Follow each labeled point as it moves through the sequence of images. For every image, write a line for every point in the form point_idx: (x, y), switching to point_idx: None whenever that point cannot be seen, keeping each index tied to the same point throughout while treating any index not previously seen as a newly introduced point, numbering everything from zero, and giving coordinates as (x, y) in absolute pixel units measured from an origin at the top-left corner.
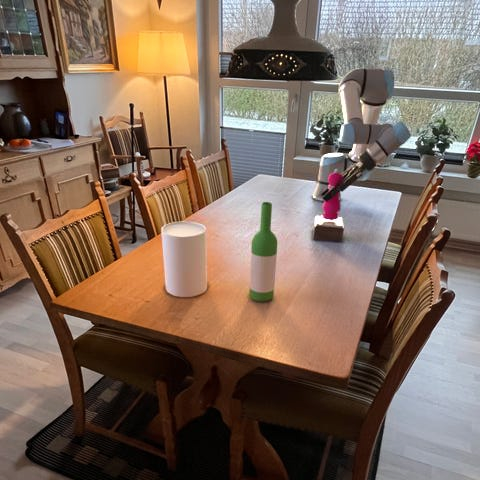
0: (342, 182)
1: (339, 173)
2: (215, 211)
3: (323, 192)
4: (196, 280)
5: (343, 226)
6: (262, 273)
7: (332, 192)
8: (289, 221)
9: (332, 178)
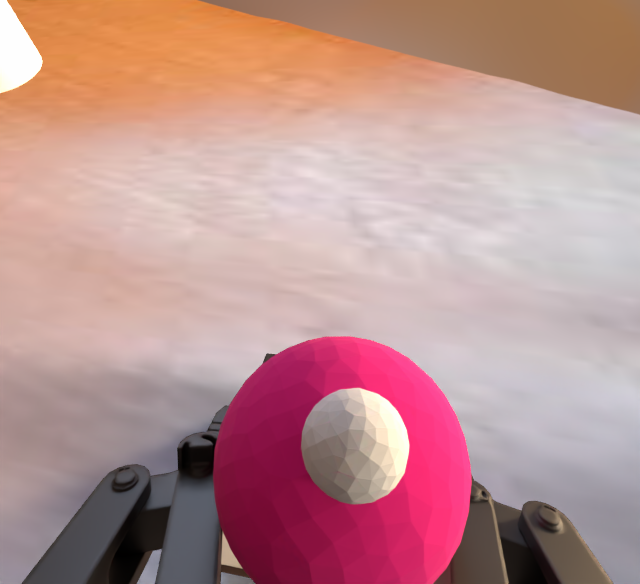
0: (162, 556)
1: (328, 519)
2: (527, 107)
3: None
4: None
5: (243, 573)
6: None
7: (213, 421)
8: (500, 323)
9: (253, 375)
